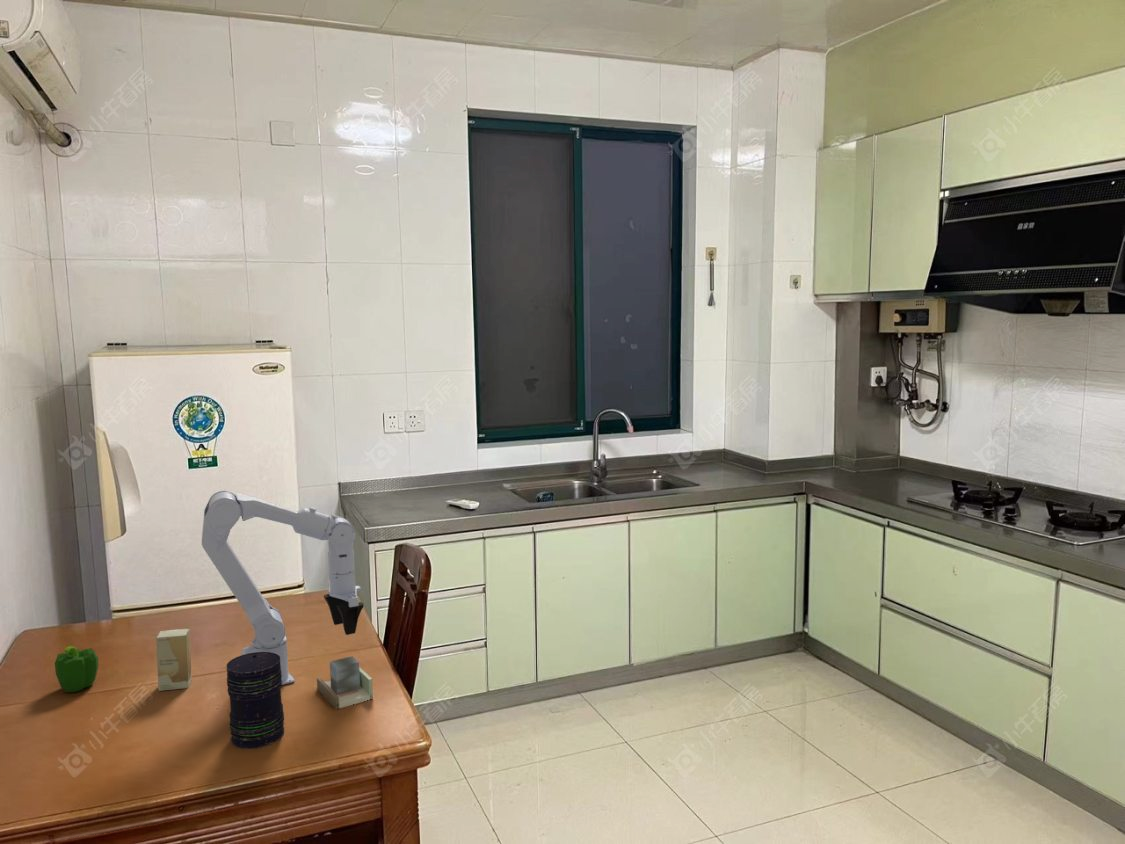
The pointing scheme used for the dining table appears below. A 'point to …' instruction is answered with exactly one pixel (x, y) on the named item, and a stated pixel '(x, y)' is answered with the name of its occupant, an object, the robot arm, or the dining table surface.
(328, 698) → the open-front display tray
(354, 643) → the dining table surface
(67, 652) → the bell pepper
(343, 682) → the slate cabinet block
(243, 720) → the storage jar
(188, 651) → the skincare box
